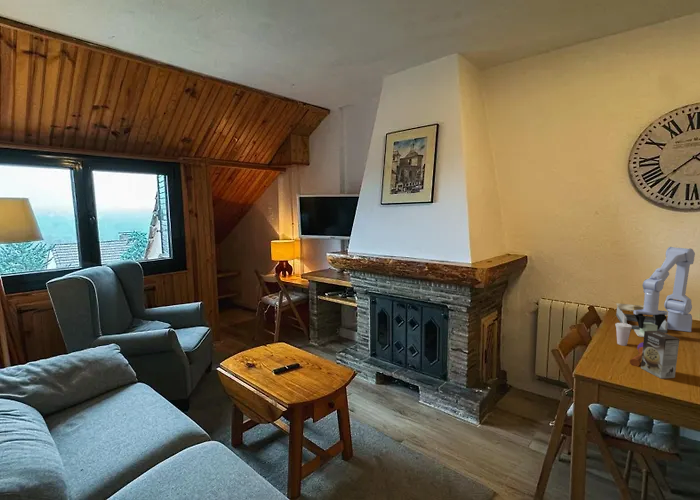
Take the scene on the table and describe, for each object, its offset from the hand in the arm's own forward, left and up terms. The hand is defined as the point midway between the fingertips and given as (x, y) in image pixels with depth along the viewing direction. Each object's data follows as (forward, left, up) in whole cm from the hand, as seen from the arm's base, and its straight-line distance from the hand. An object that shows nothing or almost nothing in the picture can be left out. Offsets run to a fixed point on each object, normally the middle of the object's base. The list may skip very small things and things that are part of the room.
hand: (648, 328), depth 184 cm
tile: (0, 0, -3) cm, 3 cm away
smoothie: (+14, +21, -4) cm, 26 cm away
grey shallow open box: (0, -19, -3) cm, 20 cm away
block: (0, 0, -3) cm, 3 cm away
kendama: (+10, +38, -4) cm, 39 cm away
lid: (0, -29, +2) cm, 30 cm away
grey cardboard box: (+7, +51, -4) cm, 52 cm away
